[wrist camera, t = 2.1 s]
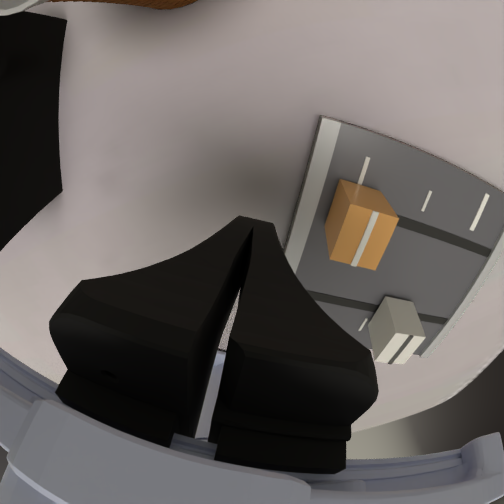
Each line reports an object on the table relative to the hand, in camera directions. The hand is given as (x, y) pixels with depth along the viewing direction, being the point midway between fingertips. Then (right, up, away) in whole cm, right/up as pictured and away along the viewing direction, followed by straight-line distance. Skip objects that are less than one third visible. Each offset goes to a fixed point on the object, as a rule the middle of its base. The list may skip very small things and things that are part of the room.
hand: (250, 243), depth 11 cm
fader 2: (+10, -5, +9) cm, 14 cm away
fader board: (+10, -1, +8) cm, 13 cm away
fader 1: (+6, +2, +5) cm, 8 cm away
